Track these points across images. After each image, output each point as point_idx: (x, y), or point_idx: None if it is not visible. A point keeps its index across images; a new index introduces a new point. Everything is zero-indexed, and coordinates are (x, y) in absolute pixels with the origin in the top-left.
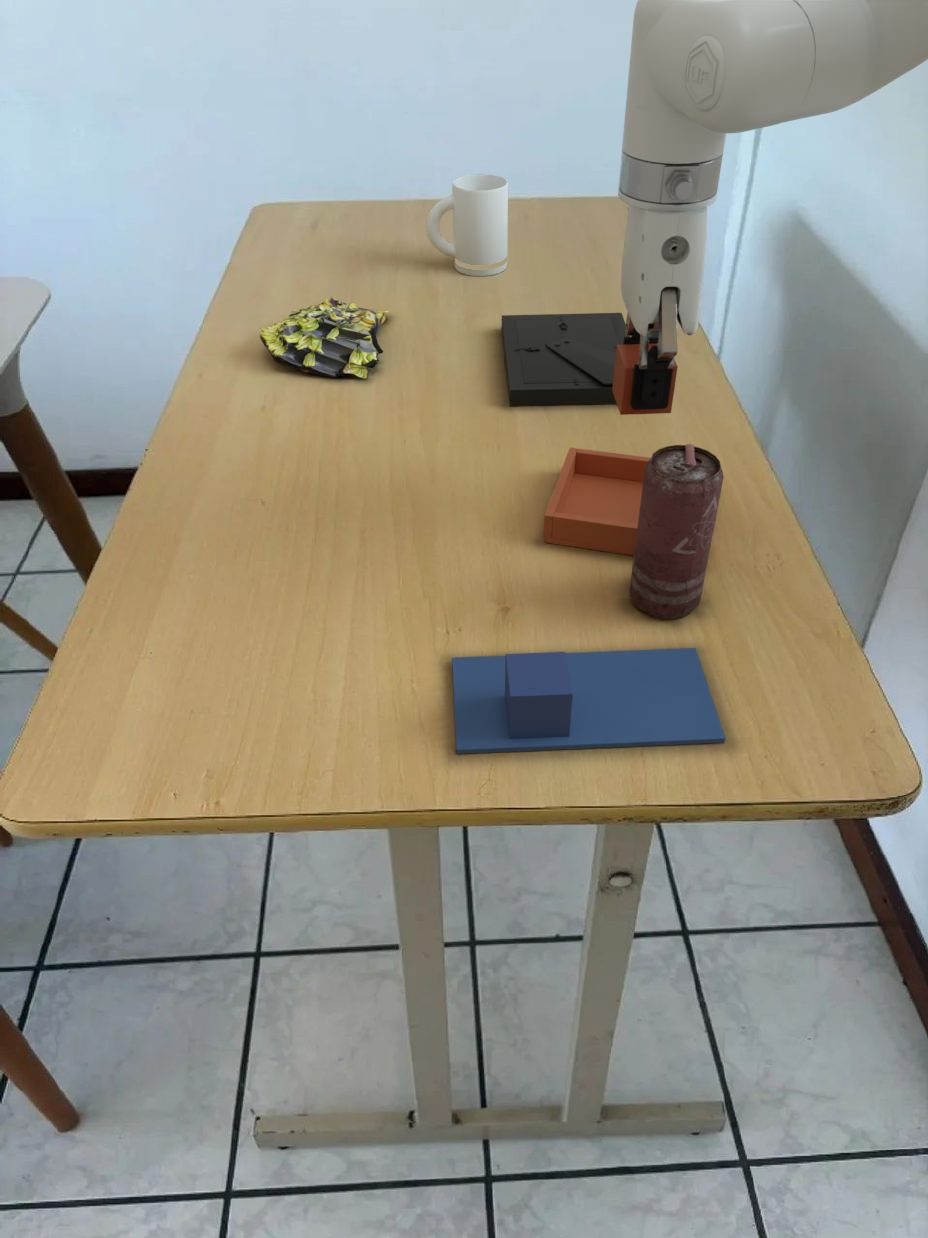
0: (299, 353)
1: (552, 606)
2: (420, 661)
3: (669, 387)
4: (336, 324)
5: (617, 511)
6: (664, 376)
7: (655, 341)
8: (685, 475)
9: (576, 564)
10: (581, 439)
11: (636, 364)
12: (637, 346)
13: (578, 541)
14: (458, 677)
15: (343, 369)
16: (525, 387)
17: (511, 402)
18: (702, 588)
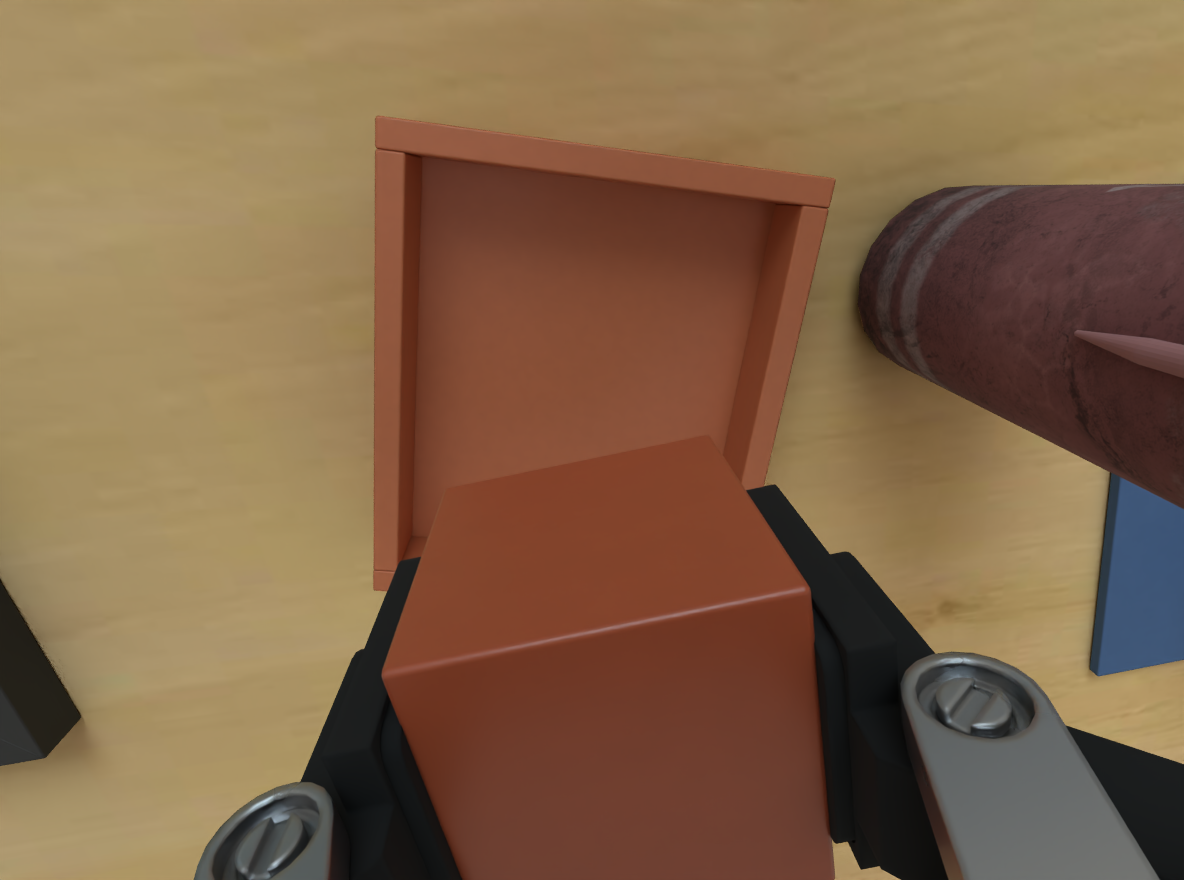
0: None
1: (944, 524)
2: (1078, 713)
3: (821, 546)
4: None
5: (585, 415)
6: (930, 653)
7: (408, 765)
8: None
9: (795, 490)
10: (196, 526)
11: (864, 860)
12: (495, 849)
13: None
14: (1154, 659)
15: None
16: (8, 725)
17: (71, 723)
18: (996, 185)
